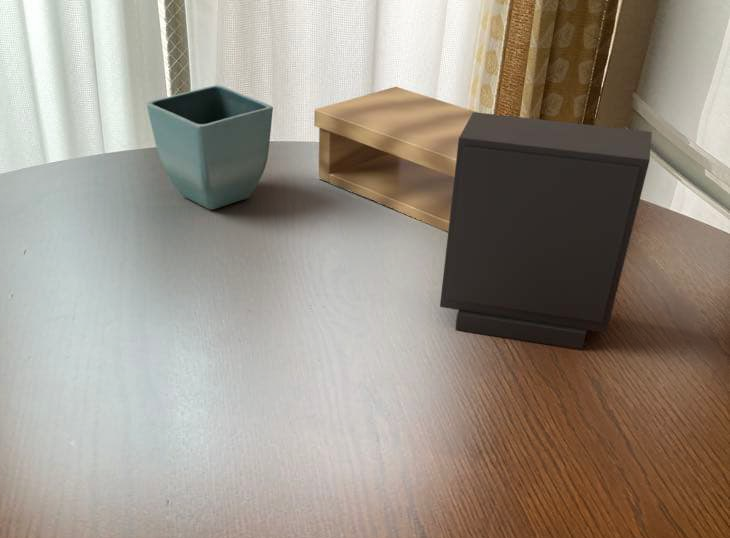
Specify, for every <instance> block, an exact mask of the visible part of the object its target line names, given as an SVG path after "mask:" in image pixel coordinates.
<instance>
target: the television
mask: <svg viewBox="0 0 730 538" xmlns="http://www.w3.org/2000/svg"><path fill="white" fill-rule="evenodd" d="M477 112H478V111H475V112H473V113H472V115H471V117H470V119H469V121H468V122H467V124H466V126H465V128H464V130H463V131H462V133H461V135H460V137H459V141H458V150H457V158H456V167H455V176H454V185H453V194H452V203H451V212H450V221H449V230H448V232H447V240H446V241H447V242H446V246H445V247H446V249H445V258H444V267H443V273H442V284H441V293H440V302H439V307H440V308H444V309H451V310H457V313H456V321H455V331H459V332H460V331H461V332H468V333H474V334H481V335H486V336H493V337H497V338H506V339H512V340H517V341H524V342H531V343H536V344H542V345H543V344H544V345H549V346H556V347H563V348H568V349H574V350H579V351H580V350H581V351H582V350H583V349H584V344H585V339H586V335H587V331H594V332H599V333H607V332H608V328H609V325H610V322H611V317H612V313H613V309H614V305H615V302H616V301H615V300H616V297H617V293H618V289H619V285H620V281H621V276H622V274H623V273H622V272H623V269H624V265H625V261H626V256H627V253H628V248H629V245H630V240H631V236H632V233H633V229H634V224H635V221H636V216H637V213H638V209H639V204H640V200H641V197H642V193H643V188H644V184H645V180H646V176H647V172H648V169H649V165H650V160H651V159H650V158H651V147H652V137H653V136H652V135H653V132H652V131H647V130H640V129H639V130H637V129H629V128H621V127H611V126H602V125H595V124H593V125H592V124H584V123H574V122H566V121H558V120H549V119H548V120H547V119H539V118H529V117H520V116H512V115H502V114H495V113H494V114H493V113H485V112H484V113H483V112H478V113H477Z"/></svg>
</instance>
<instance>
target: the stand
mask: <svg viewBox="0 0 730 538" xmlns="http://www.w3.org/2000/svg"><path fill="white" fill-rule="evenodd" d="M473 112H477V113H479V112H478V111H475V110H471V109H469V108H466V107H462V106H459V105H456V104H453V103H449V102H446V101H443V100H439V99H437V98H434V97H431V96H428V95H424V94H421V93H418V92H414V91H411V90H408V89H405V88H402V87H398V86H393V87H389V88H386V89H382V90H379V91H375V92H372V93H368V94H365V95H361V96H358V97H354V98H350V99H347V100H343V101H339V102H336V103H333V104H328V105H325V106H321V107H318V108H314V116H313V117H314V118H313V119H314V121H313V123H314V124H313V126H314V127H317V128H318V132H319V133H318V139H319V140H318V179H319V178H321V179H322V180H321V181H323V180H325V181H327V182H326V183H328V182H330V183H332V184H335V185H337V186H339V187H338V188H340V187H342V188H345V189H347V190H350V191H352V192H355V193H356V194H355V195H357V194H359V195H362V196H364V197H366V198H369V199H372V200H374V201H376V202H379V203H381V204H383V205H386V206H388V207H390V208H389V209H391V208H393V209H395V210H394V211H396V210H397V211H396V212H398V211H399V212H398V213H400V212H401V213H400V214H403V213H404V214H403V215H405V214H406V216H408V217H410V216H411V218H413V219H415V218H416V219H415V220H417V221H420V220H421V221H420V222H423V223H425V224H427V225H429V226H432V227H435V228H438V229H439V230H442V231H444V232H447V233H448V230H449V221H450V212H451V203H452V194H453V185H454V176H455V167H456V158H457V150H458V141H459V137H460V135H461V133H462V131H463V130H464V128H465V126H466V124H467V122H468V121H469V119H470V117H471V115H472V113H473ZM325 181H324V182H325ZM330 183H329V184H330ZM332 184H331V185H332ZM335 185H334V186H335ZM337 186H336V187H337ZM342 188H341V189H342ZM345 189H344V190H345ZM347 190H346V191H347ZM352 192H351V193H352ZM359 195H358V196H359ZM362 196H361V197H362ZM364 197H363V198H364ZM366 198H365V199H366ZM369 199H368V200H369ZM374 201H373V202H374ZM376 202H375V203H376ZM379 203H378V204H379ZM381 204H380V205H381ZM383 205H382V206H383ZM386 206H385V207H386ZM388 207H387V208H388ZM393 209H392V210H393Z"/></svg>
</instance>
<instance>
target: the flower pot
mask: <svg viewBox="0 0 730 538" xmlns="http://www.w3.org/2000/svg"><path fill="white" fill-rule="evenodd" d="M146 108H147V112H148V116H149V121H150V126H151V130H152V135H153V138H154V142H155V143H154V144H155V147H156V150H157V154H158V156H159V159H160V162H161V165H162V167H163V169H164V171H165V173H166V175H167V177H168V178H169V180H170V181H171V183H172V184H173V185H174V187H175V188H176V190H177V191H178V193H180V195H181V196H182V197H184V198H186V199H188V200H190V201H191V202H194V203H196V204H198V205H199V206H202V207H204V208H205V209H207V210H210V211H211V210H212V211H213V210H216V209H219V208H222V207H226V206H228V205H231V204H234V203H237V202H240V201H243V200H247V199H248V198H250V197H251V196H252V194H253V193H254V191H255V189H256V188H257V186H258V184H259V182H260V181H261V179H262V176H263V174H264V172H265V169H266V167H267V166H266V165H267V163H268V157H269V150H270V140H271V133H272V123H273V122H272V121H273V111H274V107H273V106H272V105H271V104H268V103H266V102H263V101H261V100H258V99H255V98H252V97H249V96H247V95H244V94H242V93H240V92H237V91H235V90H233V89H230V88H228V87H225V86H223V85H219V84H216V85H215V84H214V85H209V86H206V87H201V88H198V89H194V90H190V91H186V92H182V93H178V94H175V95H170V96H167V97H161V98H158V99H154V100H151V101H148V102H146Z"/></svg>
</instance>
